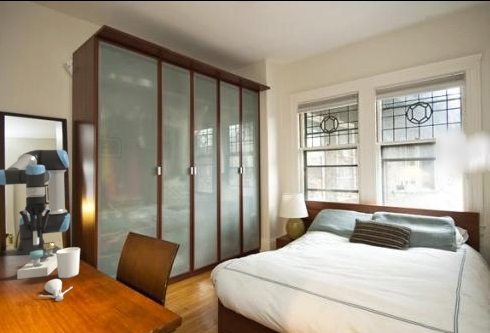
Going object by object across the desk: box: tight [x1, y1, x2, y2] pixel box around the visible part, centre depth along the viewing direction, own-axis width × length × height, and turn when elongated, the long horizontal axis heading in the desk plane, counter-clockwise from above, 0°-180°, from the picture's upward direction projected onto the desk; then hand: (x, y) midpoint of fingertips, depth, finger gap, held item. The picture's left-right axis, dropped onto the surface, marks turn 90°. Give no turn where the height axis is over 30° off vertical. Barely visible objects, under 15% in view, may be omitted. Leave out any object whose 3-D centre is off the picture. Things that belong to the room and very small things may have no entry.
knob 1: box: [29, 250, 44, 266], centre depth 134 cm, size 5×5×7 cm
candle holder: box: [55, 246, 81, 279], centre depth 132 cm, size 10×10×12 cm
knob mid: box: [40, 250, 50, 262], centre depth 142 cm, size 5×5×7 cm
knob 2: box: [44, 241, 56, 256], centre depth 149 cm, size 5×5×7 cm
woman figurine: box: [38, 278, 73, 302], centre depth 112 cm, size 12×4×18 cm
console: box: [16, 253, 57, 280], centre depth 142 cm, size 25×12×4 cm, turn 17°
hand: (36, 244), depth 134 cm, fingers closed
